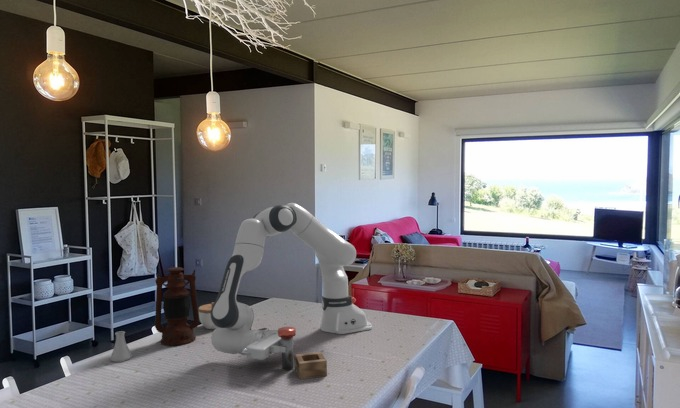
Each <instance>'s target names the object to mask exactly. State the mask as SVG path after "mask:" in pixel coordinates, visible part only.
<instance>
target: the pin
mask: <svg viewBox="0 0 680 408" xmlns="http://www.w3.org/2000/svg"><path fill="white" fill-rule="evenodd" d="M277 330H278V336H279V337H281V346H287V351H286V352H280V353H281V370H284V371H291V370H293V369H294V368H295V365H294V346H293V342H294V337H296V333H297V332H296V330H297V329H296V327H293V326H284V327H278V328H277Z"/></svg>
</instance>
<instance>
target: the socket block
mask: <svg viewBox="0 0 680 408" xmlns="http://www.w3.org/2000/svg"><path fill="white" fill-rule="evenodd" d="M294 357H295V359H294V360H295V365H294V367H295V370H296V373H297V376H298V377H299V379H311V378H318V377H326V376H328V368H327V367H328V365H327V363H328V362H327V359H326V358H325V355H324V354H323V353H322V351H315V352H305V353H297V354H295V355H294Z"/></svg>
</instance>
